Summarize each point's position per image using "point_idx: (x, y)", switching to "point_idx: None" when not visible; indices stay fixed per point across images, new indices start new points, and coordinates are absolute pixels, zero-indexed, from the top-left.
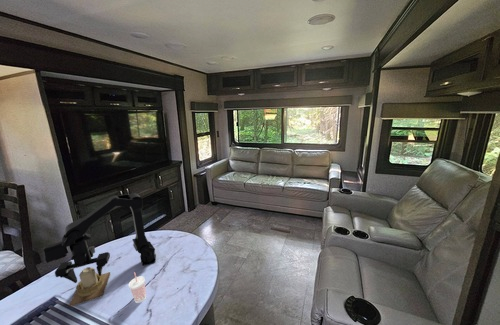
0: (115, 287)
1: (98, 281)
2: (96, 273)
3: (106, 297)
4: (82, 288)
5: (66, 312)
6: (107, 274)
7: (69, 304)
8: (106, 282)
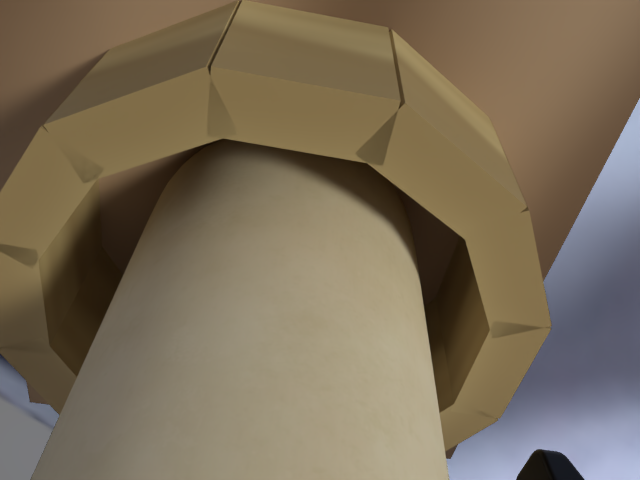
0: (628, 380)
1: (445, 416)
2: (408, 104)
3: (485, 459)
4: (107, 181)
5: (48, 426)
6: (629, 16)
7: (34, 400)
8: (545, 274)
